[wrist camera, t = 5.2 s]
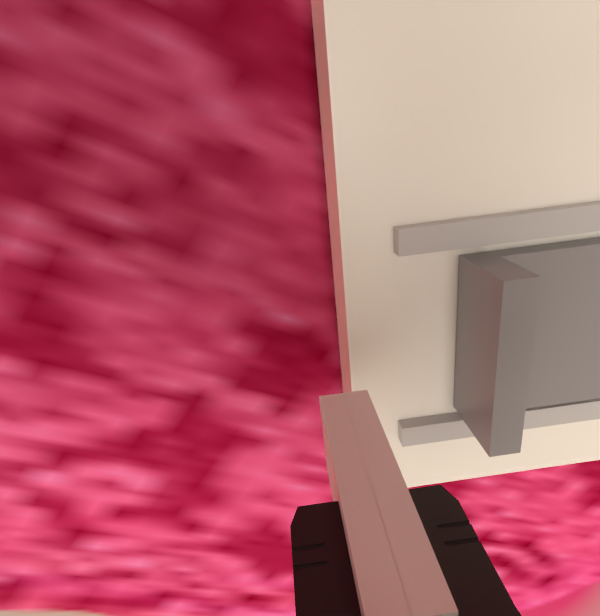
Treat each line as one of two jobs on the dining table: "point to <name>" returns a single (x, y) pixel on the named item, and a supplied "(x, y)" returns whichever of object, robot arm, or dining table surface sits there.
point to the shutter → (525, 336)
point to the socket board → (451, 197)
